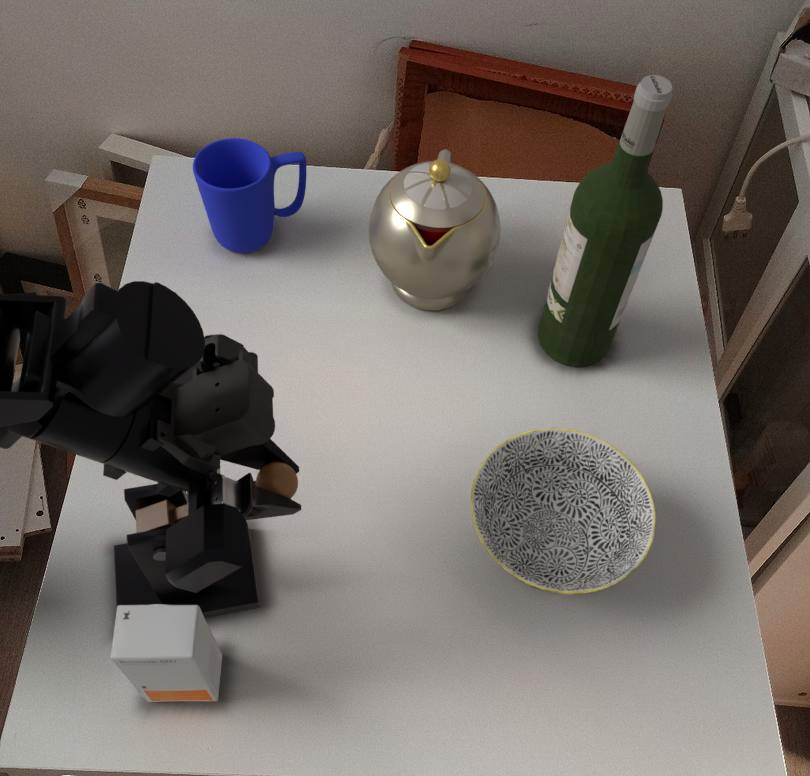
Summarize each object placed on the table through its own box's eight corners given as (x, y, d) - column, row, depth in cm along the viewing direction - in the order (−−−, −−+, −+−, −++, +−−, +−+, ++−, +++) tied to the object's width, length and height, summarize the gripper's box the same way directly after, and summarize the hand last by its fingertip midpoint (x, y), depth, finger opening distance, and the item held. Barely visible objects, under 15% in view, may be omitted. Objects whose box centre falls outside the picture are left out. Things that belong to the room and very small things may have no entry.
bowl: (653, 613, 74) (680, 579, 68) (479, 635, 73) (490, 603, 66) (607, 462, 82) (627, 419, 75) (449, 479, 80) (456, 436, 74)
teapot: (484, 343, 89) (506, 225, 74) (359, 327, 89) (357, 207, 75) (497, 225, 98) (518, 100, 83) (383, 211, 98) (385, 84, 84)
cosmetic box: (147, 704, 69) (106, 659, 58) (153, 654, 71) (115, 602, 60) (220, 703, 69) (193, 658, 58) (225, 654, 71) (199, 601, 61)
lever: (301, 467, 65) (284, 449, 62) (307, 502, 64) (291, 485, 61) (153, 518, 67) (131, 502, 64) (156, 553, 65) (133, 538, 63)
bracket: (248, 528, 77) (227, 455, 66) (259, 607, 73) (239, 544, 62) (117, 550, 75) (72, 480, 64) (121, 633, 72) (75, 573, 60)
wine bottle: (534, 310, 91) (599, 51, 65) (605, 312, 91) (698, 54, 65) (539, 367, 87) (611, 116, 61) (613, 369, 88) (716, 120, 61)
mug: (321, 243, 95) (316, 171, 86) (219, 269, 93) (203, 198, 84) (299, 196, 99) (292, 122, 90) (200, 220, 96) (183, 147, 88)
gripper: (181, 496, 45) (381, 563, 56) (188, 248, 54) (358, 346, 65) (78, 567, 51) (275, 615, 62) (99, 334, 60) (268, 411, 71)
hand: (297, 491), depth 65 cm, fingers closed on lever, 3 cm apart
